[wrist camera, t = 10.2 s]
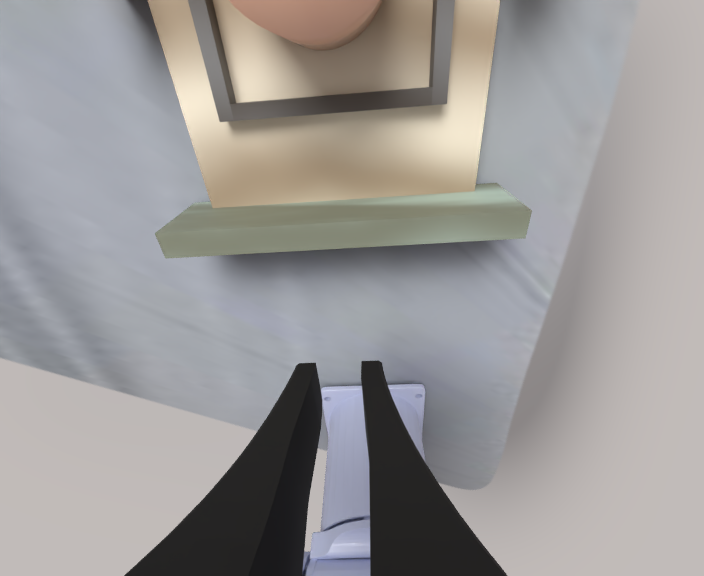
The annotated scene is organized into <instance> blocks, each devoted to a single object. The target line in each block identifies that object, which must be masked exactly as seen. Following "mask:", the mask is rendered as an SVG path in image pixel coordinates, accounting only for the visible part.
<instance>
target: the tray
mask: <svg viewBox="0 0 704 576" xmlns="http://www.w3.org/2000/svg"><path fill="white" fill-rule="evenodd" d="M148 4H149V7H150V10H151V13H152V16H153V20H154V23H155V26H156V29H157V32H158V36H159V39H160V42H161V45H162V48H163V51H164V55H165V58H166V61H167V64H168V67H169V71H170V74H171V77H172V80H173V83H174V86H175V90H176V93H177V96H178V99H179V102H180V106H181V109H182V112H183V115H184V118H185V122H186V125H187V128H188V131H189V134H190V137H191V141H192V144H193V147H194V150H195V153H196V157H197V160H198V163H199V166H200V169H201V173H202V176H203V179H204V182H205V185H206V188H207V192H208V195H209V198H210V201H211V202H198V203H194V204H192V205H191V206H190V207H189V208H187V209H186V210H185V211H183V212H182V213H181V214H179V215H178V216H177V217H176V218H174V219H173V220H172V221H170V222H169V223H168V224H166V225H165V226H164V227H162V228H161V229H160V230H159V231H157V232H156V233H155V235H156V237H157V240H158V242H159V244H160V247H161V249H162V251H163V254H164V256H165V258H181V257H199V256H217V255H235V254H253V253H271V252H289V251H307V250H325V249H343V248H361V247H378V246H396V245H414V244H432V243H450V242H468V241H486V240H504V239H522V238H526V234H527V229H528V225H529V221H530V217H531V212H532V210H531V209H529V208H528V207H527V206H525V205H524V204H523V203H522V202H520V201H519V200H518V199H516V198H515V197H514V196H513V195H511V194H510V193H509V192H508V191H506V190H505V189H504V188H502V187H501V186H500V185H499V184H497V183H488V184H476V177H477V170H478V162H479V155H480V148H481V140H482V133H483V125H484V118H485V110H486V103H487V95H488V88H489V80H490V73H491V65H492V58H493V50H494V43H495V35H496V28H497V20H498V13H499V5H500V0H383V1H382V4H381V6H380V8H379V10H378V12H377V14H376V15H375V17H374V19H373V20H372V22H371V23H370V24H369V26H368V27H367V28H366V29H365V31H364V32H363V33H361V34H360V35H359V36H358V37H357V38H356V39H354V40H353V41H352V42H350V43H348V44H346V45H344V46H342V47H339V48H336V49H332V50H312V49H308V48H305V47H302V46H299V45H297V44H295V43H293V42H291V41H289V40H287V39H285V38H283V37H281V36H278V35H276V34H274V33H272V32H270V31H268V30H266V29H264V28H262V27H260V26H258V25H257V24H255V23H254V22H253V21H251V20H250V19H248V18H247V17H245V16H244V15H243V14H242V13H241V12H240V11H239V10H238V9H236V8H235V7H234V6H233V5H232V3H231V2H230V1H229V0H148Z"/></svg>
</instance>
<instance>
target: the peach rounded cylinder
mask: <svg viewBox="0 0 704 576" xmlns="http://www.w3.org/2000/svg"><path fill="white" fill-rule="evenodd" d="M229 1H230V2H231V3H232V5H233V6H234V7H235V8H236V9H238V10H239V11H240V12H241V13H242V14H243V15H244V16H245V17H247V18H248V19H250V20H251V21H253V22H254V23H255V24H257V25H258V26H260V27H262V28H264V29H266V30H268V31H270V32H272V33H274V34H276V35H278V36H281V37H283V38H285V39H287V40H289V41H291V42H293V43H295V44H297V45H299V46H302V47H305V48H308V49H312V50H332V49H336V48H339V47H342V46H344V45H346V44H348V43H350V42H352V41H353V40H354V39H356V38H357V37H358V36H359V35H360V34H361V33H363V32H364V31H365V29H366V28H367V27H368V26H369V24H370V23H371V22H372V20H373V19H374V17H375V15H376V14H377V12H378V10H379V8H380V6H381V4H382V1H383V0H229Z"/></svg>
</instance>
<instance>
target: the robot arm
mask: <svg viewBox="0 0 704 576" xmlns="http://www.w3.org/2000/svg"><path fill="white" fill-rule="evenodd" d="M361 381H362V386H334V387H324V388H322V389H320V384H319V378H318V373H317V368H316V363H299V364H298V365H297V366H296V368H295V370H294V372H293V374H292V376H291V378H290V379H289V381H288V383H287V385H286V387H285V389H284V390H283V392H282V394H281V396H280V397H279V399H278V401H277V402H276V404H275V405H274V407H273V409H272V410H271V412H270V414H269V415H268V417H267V418H266V420H265V421H264V423H263V424H262V426H261V427H260V429H259V430H258V432H257V433H256V435H255V436H254V437H253V439H252V440H251V442H250V443H249V444H248V446H247V447H246V448H245V450H244V451H243V453H242V454H241V455H240V456H239V458H238V459H237V460H236V461H235V463H234V464H233V465H232V466H231V468H230V469H229V470H228V471H227V473H225V475H224V476H223V477H222V478H221V479H220V481H219V482H218V483H217V484H216V485H215V486H214V488H213V489H212V490H211V491H210V492H209V493H208V494H207V495H206V497H205V498H204V499H203V500H202V501H201V502H200V503H199V504H198V505H197V506H196V507H195V508H194V509H193V510H192V511H191V512H190V513H189V514H188V515H187V516H186V517H185V518H184V519H183V521H182V522H181V523H180V524H179V525H178V526H177V527H176V528H175V529H174V530H173V531H172V532H171V533H170V534H169V535H168V536H167V537H166V538H164V539H163V540H162V541H161V542H160V543H159V544H158V545H157V546H156V547H155V548H154V549H153V550H152V551H150V552H149V553H148V554H147V555H146V556H145V557H144V558H143V559H142V560H141V561H140V562H139V563H138V564H137V565H135V566H134V567H133V568H132V569H131V570H130V571H129V572H128V573H127V574H126V575H125V576H507V575H506V573H505V572H504V570H502V568H501V567H500V566H499V564H498V563H497V562H496V561H495V559H494V558H493V557H492V556H491V555H490V553H489V552H488V551H487V549H486V548H485V547H484V546H483V544H482V543H481V542H480V541H479V539H478V538H477V537H476V535H475V534H474V533H473V531H472V530H471V529H470V528H469V526H468V525H467V523H466V522H465V521H464V519H463V518H462V517H461V516H460V514H459V513H458V511H457V510H456V508H455V507H454V505H453V504H452V502H451V501H450V500H449V498H448V497H447V495H446V494H445V493H444V491H443V489H442V488H441V487H440V485H439V484H438V482H437V481H436V479H435V477H434V476H433V474H432V473H431V471H430V469H429V468H428V466H427V465H426V460H425V455H424V449H423V443H422V429H423V416H424V403H425V387H424V386H423V385H422V384H397V385H387V382H386V379H385V375H384V371H383V367H382V363H381V362H380V361H362V367H361ZM322 406H323V411H324V416H325V421H326V427H327V432H328V437H329V439H328V451H327V463H326V474H325V486H324V497H323V508H322V520H321V532H314V533H313V534H312V542H311V551H310V552H304V547H305V534H306V522H307V511H308V502H309V495H310V488H311V482H312V477H313V471H314V465H315V459H316V453H317V448H318V442H319V436H320V430H321V418H322Z"/></svg>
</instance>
